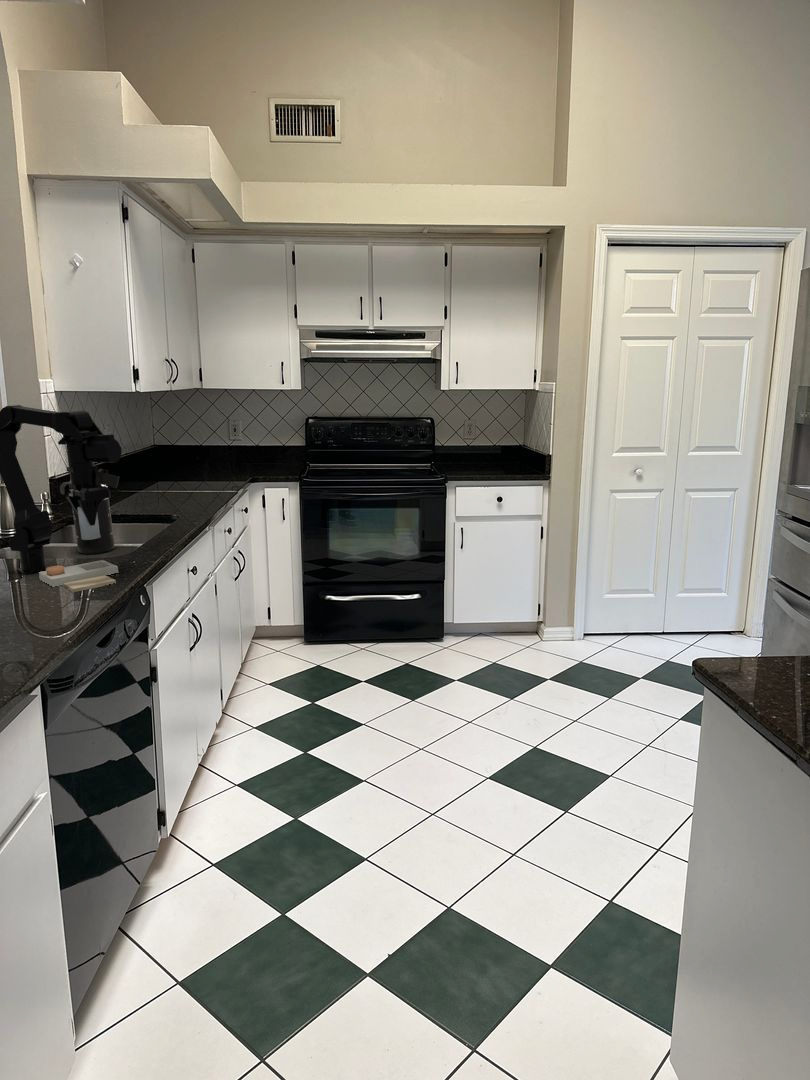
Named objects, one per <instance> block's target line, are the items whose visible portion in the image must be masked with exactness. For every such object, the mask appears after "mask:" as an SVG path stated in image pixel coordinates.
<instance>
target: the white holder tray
mask: <svg viewBox="0 0 810 1080" xmlns="http://www.w3.org/2000/svg"><path fill="white" fill-rule="evenodd" d="M63 573H64V574H60V575H55V576H49V575H48V574H47V572H46V570H45V571H40V572H38V576H39V581H41V580H42V581H41V582H43V583H44V582H45V584H46V583H47V585H48V584H49V585H48V586H50V587H51V586H52V588H56V587H55V586H57V587H61V586H60V585H62V586H63V584H64V583H68V582H73V581H78V580H83V579H88V578H93V577H98V576H103V575H111V574H114V573H119V567H118V565H116V564H113V563H111V562H110V561H109V562H108V561H106V560H104V559H102V560H95V561H90V562H86V563H80V564H75V565H74V564H73V565H69V566H64V572H63ZM111 576H112V575H111Z"/></svg>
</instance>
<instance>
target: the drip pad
mask: <svg viewBox="0 0 810 1080" xmlns="http://www.w3.org/2000/svg"><path fill="white" fill-rule="evenodd" d="M113 583H115V584H116V583H117V581H116V579H114V578H111V577H110V576H106V575H103V576H98V577H93V578H88V579H83V580H78V581H73V582H68V583H64V584H63V585H62V586H63V588H65V589H67V590H68V591H70V592H72V593H78V592H82V591H86V590H92V589H96V588H100V587H105V585H106V586H109V584H111V585H114V584H113Z"/></svg>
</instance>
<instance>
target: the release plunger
mask: <svg viewBox="0 0 810 1080" xmlns="http://www.w3.org/2000/svg"><path fill="white" fill-rule="evenodd" d="M64 567H65V566H64V565H52V566H48V568H46V570H45V571H46V572H47V574H48V575H49V576H55V575H60V574H64V573H63V572H64Z"/></svg>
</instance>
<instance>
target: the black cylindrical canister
mask: <svg viewBox="0 0 810 1080" xmlns="http://www.w3.org/2000/svg"><path fill="white" fill-rule="evenodd" d="M69 482H71V479H70V480H69ZM101 486H105V485H103V484H101ZM105 487H107V488H108V489H109V487H108V486H105ZM71 507H72V514H73V522H74V524H73V525H74V529H75V538H76V545H77V549H78V552H79V553H81V554H86V555H94V554H95V555H96V554H102V553H107V552H109V551H111V550H113V549H114V548H115V539H114V532H113V531H114V530H113V522H112V515H111V513H112V512H111V506H110V498H105V499H104V500H102V502H101V503H100V504H99V505H98V510H97V516H98V524H99V531H100V538H97V539H91V540H83V539H81V531H80V524H79V516H78V514H77V512H76V511H75V509H74V508H73V506H72V505H71Z"/></svg>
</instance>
